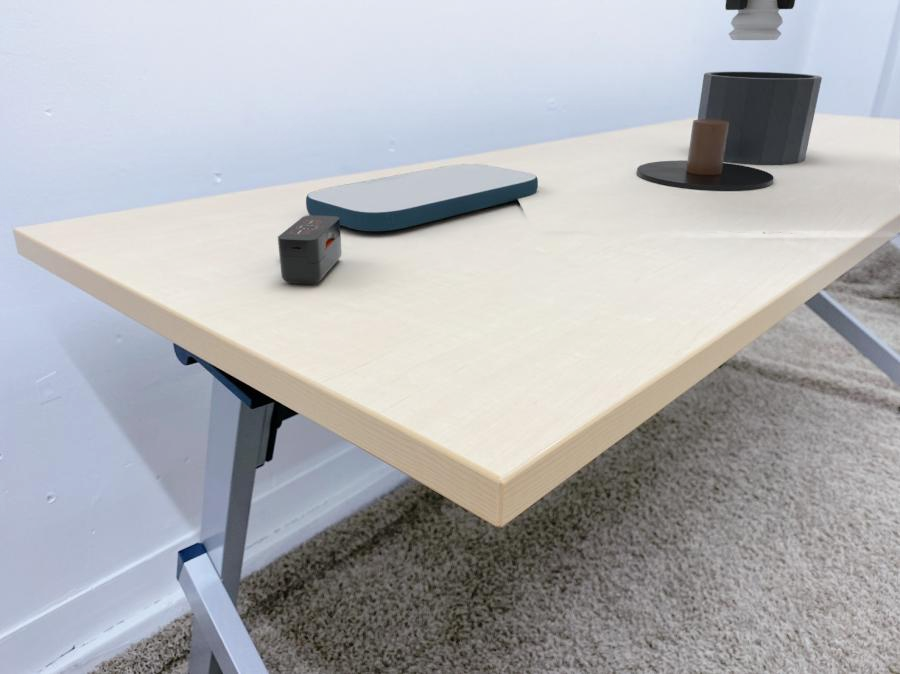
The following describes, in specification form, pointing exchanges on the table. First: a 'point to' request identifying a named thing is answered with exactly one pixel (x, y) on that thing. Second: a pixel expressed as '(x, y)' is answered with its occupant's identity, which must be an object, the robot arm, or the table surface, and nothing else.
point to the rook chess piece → (757, 21)
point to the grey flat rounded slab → (420, 196)
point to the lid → (706, 164)
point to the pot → (762, 114)
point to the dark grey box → (309, 249)
